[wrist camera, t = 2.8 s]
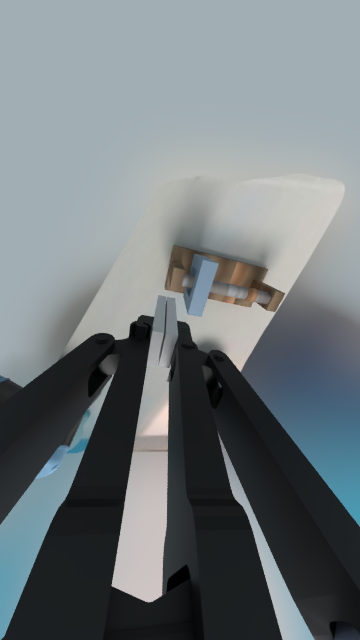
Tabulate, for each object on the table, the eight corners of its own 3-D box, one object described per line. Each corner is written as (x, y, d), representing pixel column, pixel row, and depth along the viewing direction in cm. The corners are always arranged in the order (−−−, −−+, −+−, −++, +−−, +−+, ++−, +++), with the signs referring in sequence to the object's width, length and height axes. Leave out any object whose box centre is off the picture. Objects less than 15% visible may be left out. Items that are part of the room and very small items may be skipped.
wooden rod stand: (165, 288, 40) (163, 304, 31) (173, 245, 35) (175, 248, 26) (248, 305, 43) (270, 324, 34) (265, 268, 39) (295, 278, 30)
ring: (183, 296, 36) (187, 314, 28) (194, 253, 32) (203, 259, 24) (193, 298, 37) (201, 316, 28) (205, 256, 33) (218, 263, 24)
